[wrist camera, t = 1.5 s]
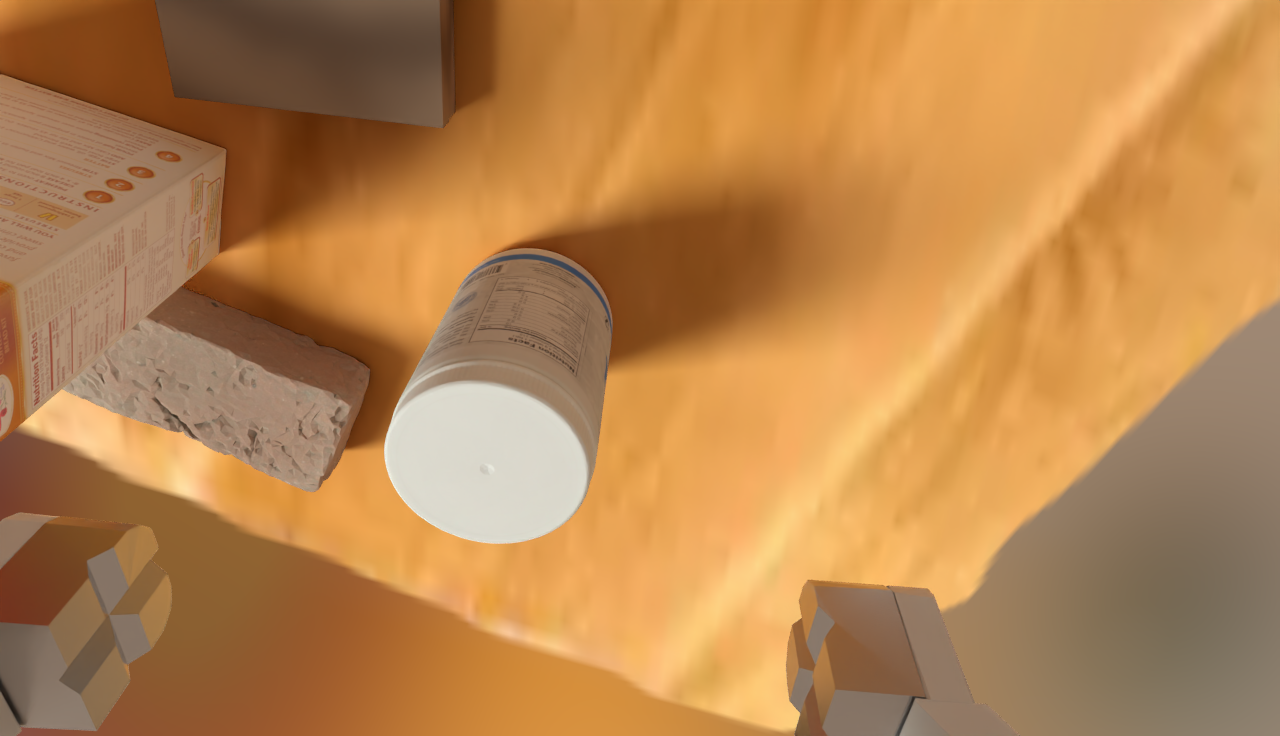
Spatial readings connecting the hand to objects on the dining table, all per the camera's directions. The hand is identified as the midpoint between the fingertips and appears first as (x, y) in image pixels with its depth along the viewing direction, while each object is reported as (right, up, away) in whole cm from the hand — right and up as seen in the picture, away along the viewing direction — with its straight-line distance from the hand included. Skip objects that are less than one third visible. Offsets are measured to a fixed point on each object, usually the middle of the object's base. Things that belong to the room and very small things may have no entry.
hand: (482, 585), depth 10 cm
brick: (-24, +3, +41) cm, 47 cm away
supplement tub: (-4, +6, +38) cm, 38 cm away
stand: (-14, +21, +29) cm, 38 cm away
